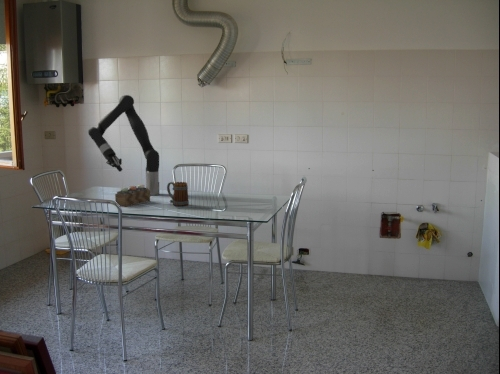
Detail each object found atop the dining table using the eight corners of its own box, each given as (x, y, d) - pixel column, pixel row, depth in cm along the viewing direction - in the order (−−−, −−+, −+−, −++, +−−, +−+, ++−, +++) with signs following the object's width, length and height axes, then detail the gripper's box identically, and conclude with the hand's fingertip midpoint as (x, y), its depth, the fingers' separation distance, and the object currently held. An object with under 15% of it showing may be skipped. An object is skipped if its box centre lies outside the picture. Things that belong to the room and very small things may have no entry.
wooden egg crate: (140, 199, 346) (140, 186, 345) (150, 201, 342) (149, 188, 340) (115, 205, 325) (115, 191, 324) (125, 206, 321) (124, 193, 320)
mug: (191, 204, 333) (191, 182, 331) (183, 207, 323) (183, 184, 321) (172, 202, 339) (172, 180, 337) (163, 204, 330) (163, 182, 328)
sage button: (124, 190, 328) (124, 187, 328) (129, 191, 326) (129, 188, 326) (119, 191, 325) (119, 188, 324) (124, 192, 322) (124, 189, 322)
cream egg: (140, 187, 342) (140, 184, 342) (146, 187, 340) (146, 185, 340) (136, 188, 338) (136, 185, 338) (141, 188, 336) (141, 185, 336)
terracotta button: (132, 188, 335) (132, 185, 335) (137, 189, 333) (137, 186, 333) (127, 189, 331) (127, 186, 331) (133, 190, 329) (133, 187, 329)
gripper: (102, 148, 332) (116, 168, 328) (117, 147, 343) (130, 166, 339) (97, 155, 336) (110, 175, 331) (111, 154, 347) (125, 173, 343)
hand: (120, 170), depth 335 cm, fingers closed
